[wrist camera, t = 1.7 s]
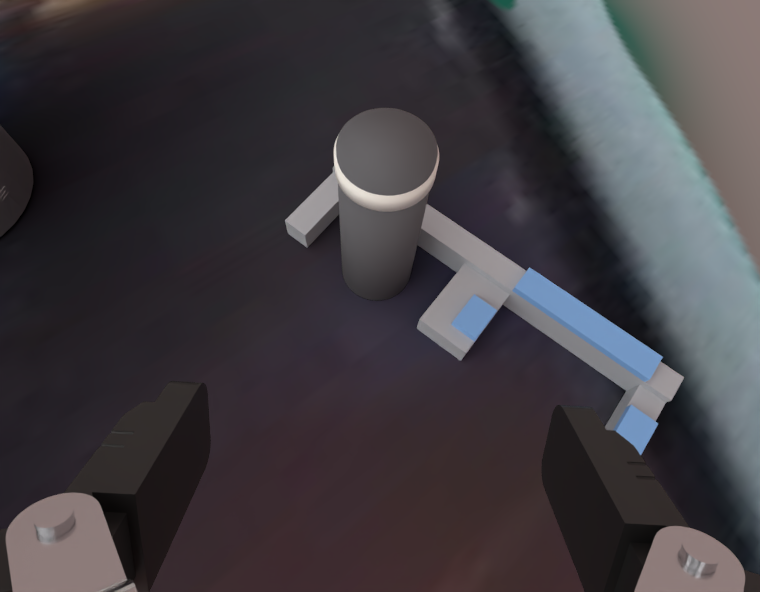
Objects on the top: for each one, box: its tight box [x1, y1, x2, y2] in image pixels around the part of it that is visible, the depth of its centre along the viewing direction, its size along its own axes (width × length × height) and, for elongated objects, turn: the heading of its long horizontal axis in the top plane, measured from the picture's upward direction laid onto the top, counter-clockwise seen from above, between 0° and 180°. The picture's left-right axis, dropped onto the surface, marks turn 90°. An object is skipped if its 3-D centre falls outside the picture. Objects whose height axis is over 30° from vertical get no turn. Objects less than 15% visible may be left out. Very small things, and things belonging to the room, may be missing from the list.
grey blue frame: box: [285, 167, 684, 455], centre depth 29 cm, size 22×6×2 cm, turn 52°
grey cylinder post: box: [334, 108, 439, 301], centre depth 26 cm, size 4×4×11 cm
